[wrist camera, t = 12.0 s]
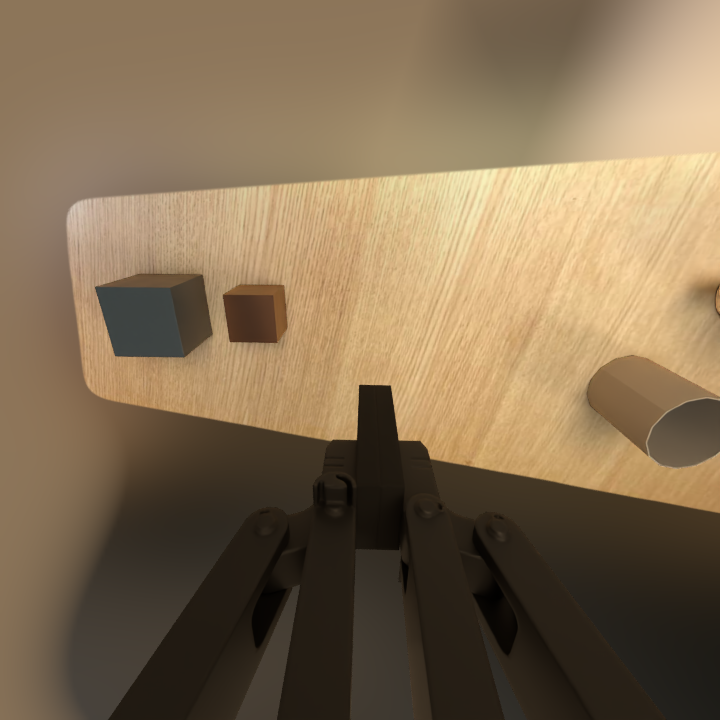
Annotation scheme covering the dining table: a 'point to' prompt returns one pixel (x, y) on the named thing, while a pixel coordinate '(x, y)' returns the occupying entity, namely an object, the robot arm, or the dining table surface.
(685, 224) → the dining table surface
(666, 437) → the cup
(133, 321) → the slate block
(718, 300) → the mug
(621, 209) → the dining table surface
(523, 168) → the dining table surface
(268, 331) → the walnut block
